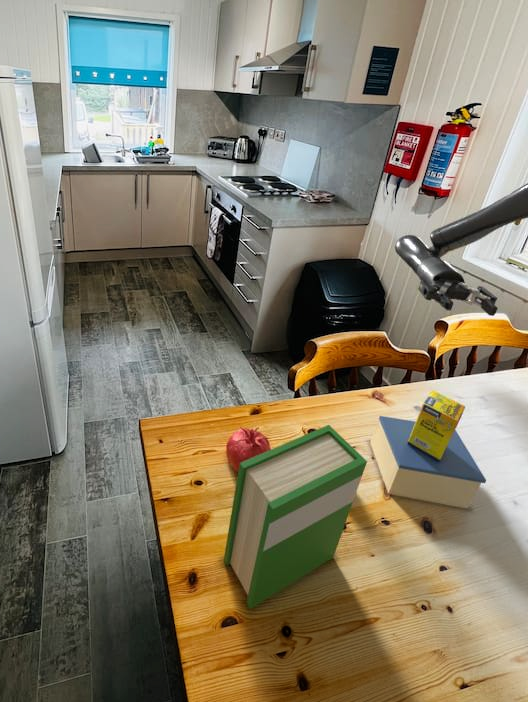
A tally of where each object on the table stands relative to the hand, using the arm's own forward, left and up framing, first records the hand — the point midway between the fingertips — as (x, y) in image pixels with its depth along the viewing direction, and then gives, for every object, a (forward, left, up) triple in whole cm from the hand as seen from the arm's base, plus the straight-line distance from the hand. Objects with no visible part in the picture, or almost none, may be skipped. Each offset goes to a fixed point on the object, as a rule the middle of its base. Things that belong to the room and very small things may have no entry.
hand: (472, 309), depth 85 cm
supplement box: (+9, +17, -24) cm, 31 cm away
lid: (+9, +17, -24) cm, 31 cm away
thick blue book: (+9, +17, -32) cm, 37 cm away
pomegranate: (+44, +22, -32) cm, 59 cm away
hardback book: (+39, +40, -32) cm, 65 cm away
